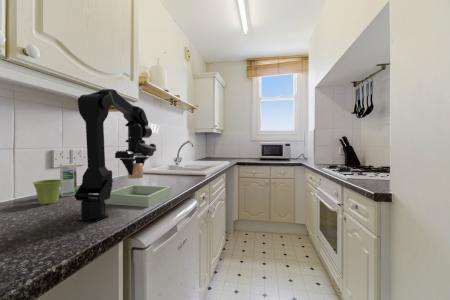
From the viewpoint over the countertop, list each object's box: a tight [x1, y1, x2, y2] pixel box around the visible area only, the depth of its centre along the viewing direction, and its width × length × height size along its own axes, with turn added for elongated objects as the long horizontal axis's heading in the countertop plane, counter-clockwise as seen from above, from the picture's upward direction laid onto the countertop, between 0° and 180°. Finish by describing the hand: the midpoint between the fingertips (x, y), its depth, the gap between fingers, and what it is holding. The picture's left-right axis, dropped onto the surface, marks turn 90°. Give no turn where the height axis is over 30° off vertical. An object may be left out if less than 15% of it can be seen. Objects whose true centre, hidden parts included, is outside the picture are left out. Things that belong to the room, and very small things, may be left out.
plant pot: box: [32, 178, 62, 206], centre depth 92 cm, size 9×9×9 cm
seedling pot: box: [127, 162, 144, 179], centre depth 99 cm, size 6×6×6 cm
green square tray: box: [105, 184, 173, 208], centre depth 99 cm, size 20×20×4 cm
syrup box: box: [59, 162, 78, 198], centre depth 106 cm, size 6×6×14 cm
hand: (135, 173), depth 99 cm, fingers closed on seedling pot, 6 cm apart
